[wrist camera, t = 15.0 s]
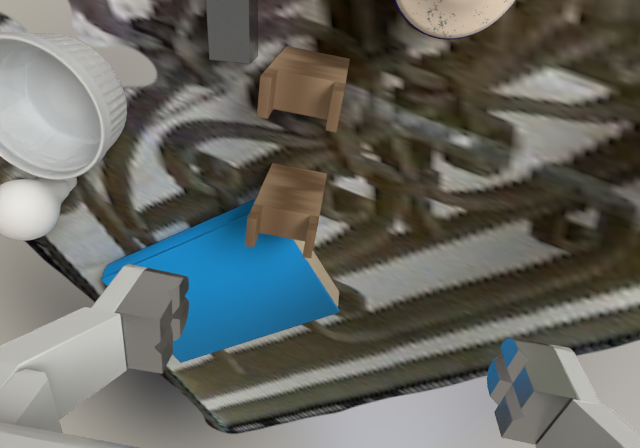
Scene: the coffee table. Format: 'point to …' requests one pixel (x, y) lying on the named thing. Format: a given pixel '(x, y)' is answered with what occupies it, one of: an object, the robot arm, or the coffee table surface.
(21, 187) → the lightbulb
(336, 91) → the post
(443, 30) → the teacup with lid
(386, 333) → the coffee table surface
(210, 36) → the rail
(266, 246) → the book
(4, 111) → the ramekin
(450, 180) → the coffee table surface
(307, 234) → the post
